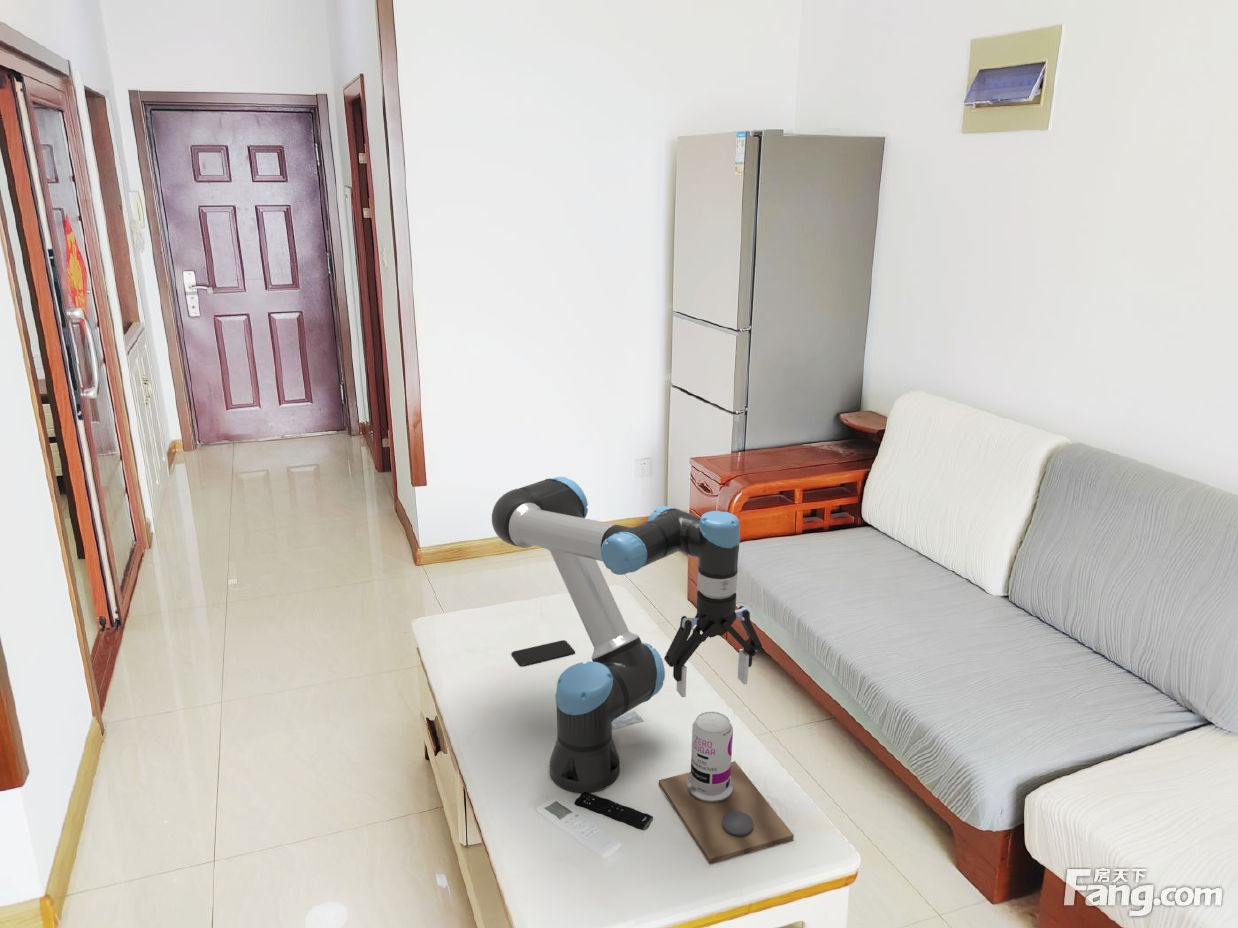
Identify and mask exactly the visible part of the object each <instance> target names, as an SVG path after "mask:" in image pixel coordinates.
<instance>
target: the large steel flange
mask: <svg viewBox="0 0 1238 928" xmlns="http://www.w3.org/2000/svg"><path fill="white" fill-rule="evenodd" d="M690 780H691V775H690V776H689V778H688V781H687V789H688V792H689V793H690V795H691V796H692V797H694V798H695V799H697V800H699V801H701V802H705V803H720V802H723V801H725V800H727V799H728V798H730V797H731V795H732V793H733V782H732V780H731V778H730V785H729V787H728V789H726V790H725V791H724V792H722V793H720V794H717V795H708V794H703V793H701V792H699V791H698V790H697V789H695V788H694V787H693V786H692V784H691V782H690Z"/></svg>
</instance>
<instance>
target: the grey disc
mask: <svg viewBox="0 0 1238 928" xmlns="http://www.w3.org/2000/svg"><path fill="white" fill-rule="evenodd" d="M722 827H723V829H724V831H725V832H726V833H728V834H730V835H732V836H736V837H743V836H747V835H749V834H750V833H751V832H752V830H753V820H752V818H751V817H750V816H749V815H747V814H746V813H743V812H740V811H732V812H728V813H727V814H725V815H724V816H723V818H722Z"/></svg>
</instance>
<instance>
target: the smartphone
mask: <svg viewBox="0 0 1238 928" xmlns="http://www.w3.org/2000/svg"><path fill="white" fill-rule="evenodd" d="M575 654H576V650H575V649H574V648H573V647H572V646H571V645H570V644H569V642H567V640H557V641H553V642H549V643H545V644H540V645H535V646H532V647H527V648H522V649H518V650H514V651H512V652H511V656H512V658H513V659H514V661H515V662H516V664H517V665H518V666H519V667H521V668H522V667H529V666H533V665H537V664H541V663H544V662H545V663H546V662H549V661H552V660H557V659H561V658H565V657H569V656H574V655H575Z"/></svg>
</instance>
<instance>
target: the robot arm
mask: <svg viewBox="0 0 1238 928" xmlns="http://www.w3.org/2000/svg"><path fill="white" fill-rule="evenodd" d="M588 505H589V503H588V499H587V497H586V494H585V492H584V490H583V489H582V488H581V487H580V486H579V484H578V483H577V482H575V481H574V480H573V479H570V478H568V477H566V476H556V477H553V478H551V477H550V478H546V479H544V480H540V481H537V482H534V483H532V484H531V483H530V484H528V485H525V486H522V487H519V488H515V489H511V490H510V491H508V492H506V493H504V494H503V495H502V496H500V497H499V498H498V500H497V501H496V502H495V505H494V506H493V509H492V513H491V525H492V528H493V531H494V533H495V534H496V535H497V536H498V538H499V539H500V540H502V542H504V543H507V544H509V545H511V546H515V547H519V548H522V549H527V548H532V546H535V547H539V548H542V549H546V550H548V551H549V552H550V554H551V556H552V558H553V561H554V563H555V566H556V567H557V571H558V572H559V574H560V576H561V578H562V580H563V583H564V585H565V588H566V589H567V592H568V594H569V595H570V598H571V600H572V602H573V605H574V607H575V609H576V611H577V614H578V616H579V618H580V620H581V622H582V625H583V627H584V629H585V631H586V633H587V636H588V637H589V640H590V642H591V644H592V646H593V653H592V655H591V661H586V662H585V663H584V662H578V663H575V664H572V665H571V666H569V667H567V668H566V669H565V670H564V671H562V673H561V674H560V675H559V677H558V680H557V682H556V693H555V704H556V725H557V726H556V741H555V744H554V747H553V750H552V752H551V756H550V760H549V774H550V778H551V779H552V781H553V782H554V783H555V784H556V785H557V786H559V787H561V788H562V789H564V790H566V791H570V792H575V793H584V792H586V793H593V792H597V791H601V790H603V789H606V788H608V787H610V786H611V785H612V784H614V782H616V781H617V779H618V777H619V776H620V773H621V759H620V756H619V753H618V750H617V747H616V744H615V742H614V740H613V732H612V731H613V722H614V721H615V720H616V719H617V718H620V717H621V716H622V715H624V714H626V713H628V712H629V711H631V710H633V709H634V708H636V707H638V706H640V705H641V704H643V703H645V702H648V701H650V700H651V699H652V697H654V696H655V695H657V694H658V693H659V692H660V691H661V690H662V687H663V685H664V681H665V678H666V673H665V672H666V671H665V670H666V669H665V665H664V662H663V661H665V663H666V664H667V665H668V666H669V667H670V668H672V670H673V671H672V672H673V673H672V676H673V679H674V680H675V682H676V692H677V693H678V694H679V695H680V697H681V698H686V695H687V672H688V671H687V670H688V669H687V668H688V667H687V666H686V665H685V664H686V663H687V662H688V661H689V660H690V658H691V657H692V655H693V654H694V652H695V651H697V649H699V646H700V645H701V644H702V643H704V642H706V641H707V639H708V638H709V639H710V638H715V637H716V636H719V637H720V636H721V637H722V636H725V634H726V633H727V632H728V633H729V634H730V635H731V636H732V637H733V639H734V640H736V642H737V643H738V644H739V645H740V646H741V647H742V648H740V649H739V650H738V663H737V664H738V666H737V678H738V680H739V681H740V682H741V683H742V684H743V685H748V678H749V677H748V676H749V668H751V667H752V665H753V657H755V655H757V654H756V651H757V650H758V651H759V650H761V649H762V648H763V645H762V642H761V641H760V639H759V636H758V634H757V632H756V630H755V628H754V626H753V623H752V622H751V612H750V611H749V610H748V609H747V608H746V607H745V606H744V605H740V606H739V607H738V609H737V608H736V606H737V593H736V592H737V589H738V588H737V586H738V569H739V567H738V563H739V552H740V551H739V550H740V543H741V535H740V530H741V529H740V528H741V526H740V520H739V518H738V516H736V515H735V514H733V513H731V512H728V511H721V510H711V511H707V512H705V513H703V514H702V515H701V517H700V516H698V515H694V514H693V513H689V512H687V511H684V510H682V509H679V508H675V507H670V506H666V505H662V506H659V507H656V508H655V509H654V510H653V512H652V513H650V515H649V516H648V518H647V521H646V522H644V523H641V524H638V525H635V526H625V525H619V524H615V523H609V522H604V521H600V520H595V519H590V518H586V517H587V515H588V512H589V511H588V510H589V509H588ZM677 552H681V553H684V554H686V555H689V556H692V557H696V558H697V559H698V562H697V567H698V568H697V570H698V571H697V586H696V587H697V591H696V615H695V617H687V615H683V616H681V618H680V625H679V628H678V630H676V631H677V632H676V634H675V636H674V638H673V640H672V641H671V644H670V646H669V648H668V650H667V652H666V653H665V656H664V659H663V658H662V657H661V655H660V653H659V652H658V650H657V649H656V648H654V647H653V646H652V645H651V644H650V643H647V642H642V640H641V638H640V635H638V634H636V633H633V632H631V631H630V630H629V628H628V625H627V624H626V622H625V620H624V617H623V615H622V613H621V611H620V609H619V607H618V605H617V602H616V600H615V598H614V596H613V593H612V592H611V588H609V587H610V586H609V585H608V582H607V581H606V579H605V577H604V575H603V572H602V570H601V568H600V565H599V564H598V561H601V562H603V565H604V566H605V567H606V568H607V569H609V570H610V572H611V573H612V574H615V575H618V576H619V575H620V576H622V575H627V574H630V573H634V572H635V573H636V572H637V571H638V570H640V569H643V567H646V566H648V565H651V564H653V563H655V562H657V561H659V560H663V559H665V558H666V557H669V556H671V555H674V554H675V553H677ZM736 619H738V620H739V621H740V623H741V625H742V627H743V629H744V631H745V634H746V636H747V637H748V640H749V642H748V641H746V640H745V639H744V637H742V635H741V634H740V633H739V632H738V631H737V630H736V629H735V628H734V627H733V626H732V625H733V624H734V623H735V621H736ZM695 625H696V626H695ZM694 626H695V627H694ZM691 632H692V633H691ZM701 632H702V633H701Z"/></svg>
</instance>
